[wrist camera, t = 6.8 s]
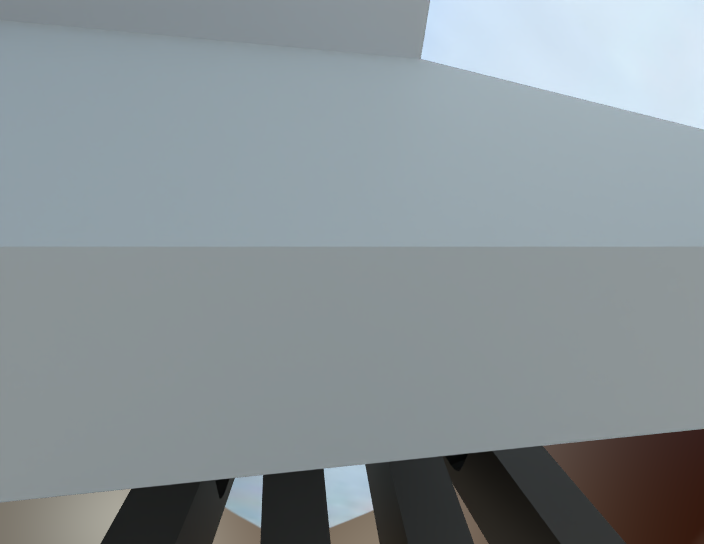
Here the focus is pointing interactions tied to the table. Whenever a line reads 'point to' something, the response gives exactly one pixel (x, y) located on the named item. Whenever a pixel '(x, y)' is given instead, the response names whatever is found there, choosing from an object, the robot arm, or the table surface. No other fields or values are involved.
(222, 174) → the grey screen
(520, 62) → the table surface
